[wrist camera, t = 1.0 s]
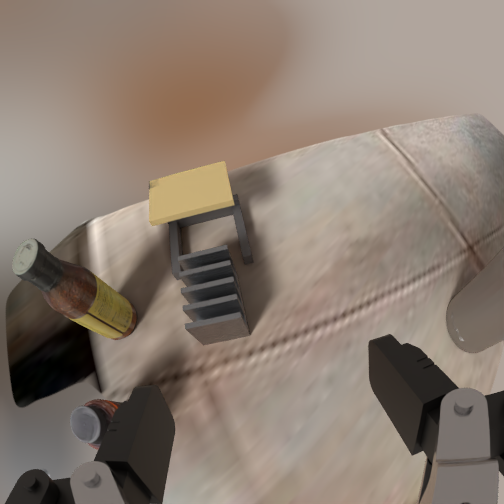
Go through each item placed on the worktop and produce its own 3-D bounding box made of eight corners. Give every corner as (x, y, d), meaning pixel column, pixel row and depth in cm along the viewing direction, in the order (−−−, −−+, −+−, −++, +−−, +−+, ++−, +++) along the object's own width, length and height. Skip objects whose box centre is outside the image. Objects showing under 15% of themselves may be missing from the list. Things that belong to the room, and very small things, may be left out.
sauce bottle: (126, 292, 42) (44, 212, 25) (146, 324, 40) (57, 251, 23) (94, 318, 41) (3, 251, 24) (112, 351, 38) (10, 295, 21)
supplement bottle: (113, 406, 34) (59, 395, 24) (151, 402, 34) (104, 393, 24) (119, 448, 31) (66, 450, 21) (159, 446, 31) (112, 452, 21)
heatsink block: (237, 273, 42) (226, 244, 36) (250, 335, 38) (241, 317, 31) (194, 283, 42) (177, 256, 36) (203, 345, 38) (185, 329, 31)
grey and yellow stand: (240, 206, 48) (229, 159, 39) (253, 262, 43) (243, 219, 34) (172, 223, 48) (149, 181, 39) (176, 280, 43) (148, 242, 34)
